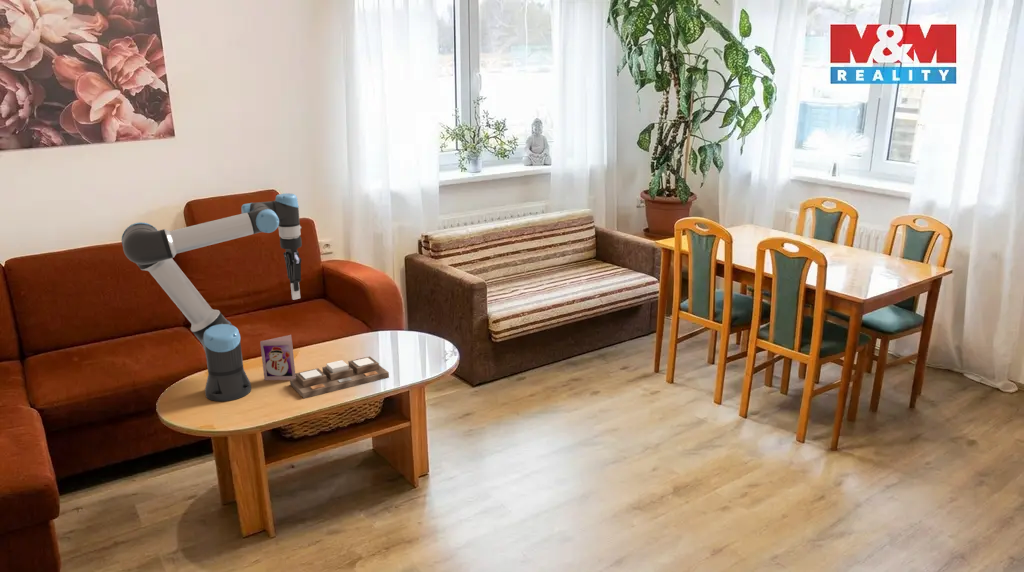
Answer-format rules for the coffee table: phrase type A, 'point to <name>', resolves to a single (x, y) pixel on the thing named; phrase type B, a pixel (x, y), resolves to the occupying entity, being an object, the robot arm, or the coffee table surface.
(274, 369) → the greeting card
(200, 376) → the coffee table surface
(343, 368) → the button middle
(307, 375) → the button left
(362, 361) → the button right
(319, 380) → the button board
